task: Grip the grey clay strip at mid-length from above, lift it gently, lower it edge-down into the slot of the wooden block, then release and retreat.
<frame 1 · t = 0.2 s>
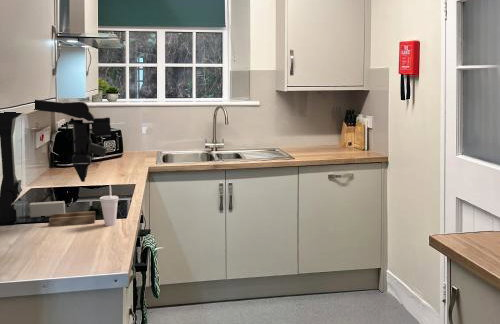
hand: (83, 179, 195), 14 cm above the worktop, fingers open, 9 cm apart
wooden block: (73, 222, 191), on the worktop
clay strip: (48, 215, 201), on the worktop
smoothie: (110, 225, 187), on the worktop
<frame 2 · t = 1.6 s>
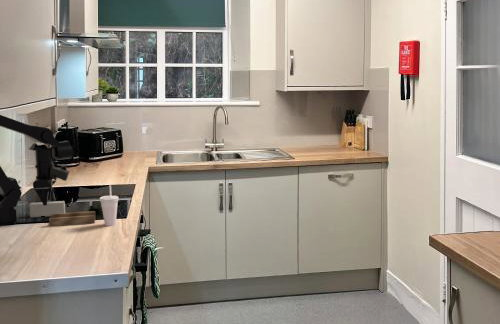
hand: (46, 202, 200), 5 cm above the worktop, fingers open, 9 cm apart
nothing on the worktop moved.
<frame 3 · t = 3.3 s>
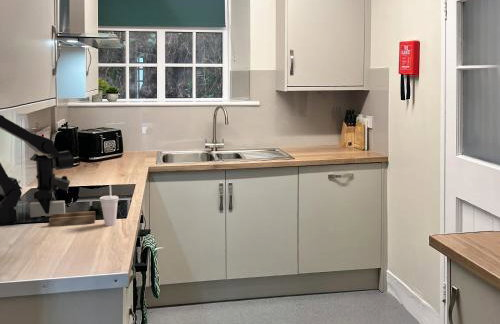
hand: (47, 212, 201), 1 cm above the worktop, fingers closed on clay strip, 3 cm apart
clay strip: (48, 215, 201), on the worktop, touching gripper
everything else where it was.
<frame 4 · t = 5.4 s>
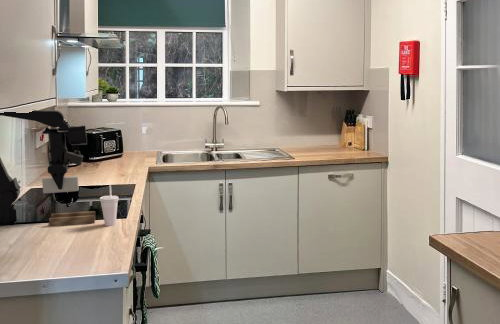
hand: (60, 188, 194), 11 cm above the worktop, fingers closed on clay strip, 3 cm apart
clay strip: (61, 191, 194), point 10 cm above the worktop, touching gripper
everything else where it was.
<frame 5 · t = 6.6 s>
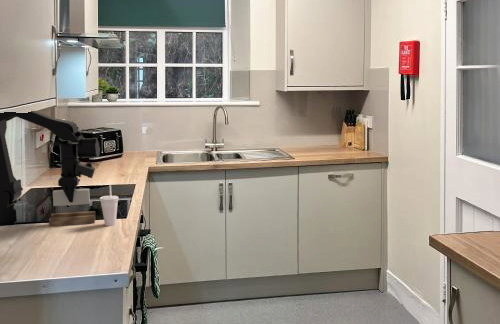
hand: (71, 201, 190), 8 cm above the worktop, fingers closed on clay strip, 3 cm apart
clay strip: (71, 204, 190), point 7 cm above the worktop, touching gripper
everything else where it was.
when the fingers open (3 cm above the worktop, at t = 7.6 s): clay strip drops 1 cm, resting on wooden block.
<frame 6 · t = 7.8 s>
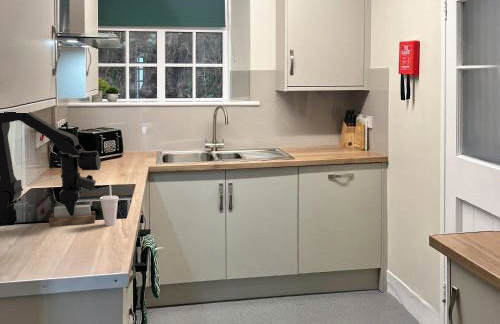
hand: (72, 213, 190), 3 cm above the worktop, fingers open, 5 cm apart
clay strip: (73, 220, 191), point 1 cm above the worktop, touching wooden block
everything else where it was.
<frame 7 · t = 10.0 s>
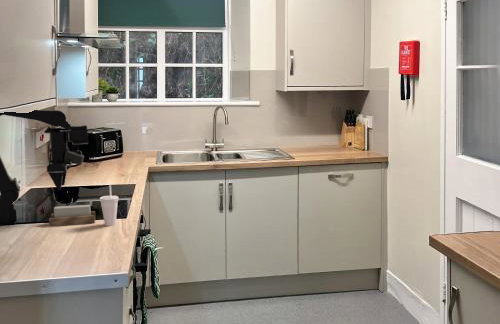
hand: (61, 187, 195), 11 cm above the worktop, fingers open, 9 cm apart
nothing on the worktop moved.
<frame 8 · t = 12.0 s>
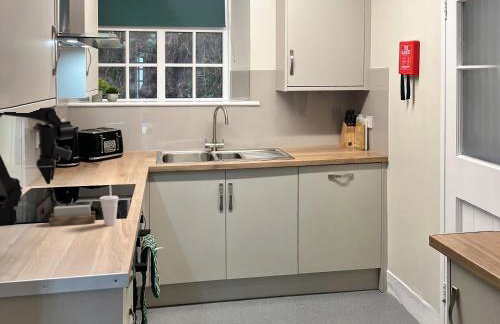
hand: (50, 181, 203), 12 cm above the worktop, fingers open, 9 cm apart
nothing on the worktop moved.
at the end: clay strip 0.0 cm off-centre on the wooden block, point 0.6 cm above the wooden block's base; clay strip tilted 0°; the gripper is holding nothing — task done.
